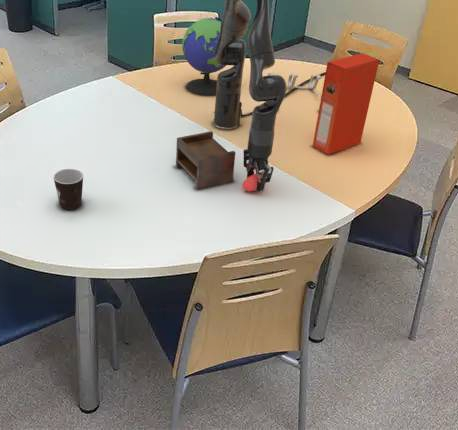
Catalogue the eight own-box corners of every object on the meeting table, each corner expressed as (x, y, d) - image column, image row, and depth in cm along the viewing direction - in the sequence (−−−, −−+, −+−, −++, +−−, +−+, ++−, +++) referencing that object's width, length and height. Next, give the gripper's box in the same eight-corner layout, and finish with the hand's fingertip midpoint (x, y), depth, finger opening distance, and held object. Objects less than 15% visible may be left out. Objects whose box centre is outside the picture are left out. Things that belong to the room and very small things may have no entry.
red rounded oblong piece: (269, 194, 188) (273, 174, 187) (249, 192, 182) (253, 171, 182) (258, 192, 192) (261, 172, 191) (238, 189, 186) (241, 170, 186)
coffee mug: (57, 197, 180) (54, 168, 175) (85, 196, 181) (84, 168, 175) (54, 218, 171) (51, 189, 165) (83, 218, 172) (81, 189, 166)
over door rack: (313, 86, 262) (317, 65, 256) (325, 114, 238) (330, 92, 232) (265, 84, 262) (268, 63, 256) (272, 112, 238) (276, 89, 232)
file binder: (311, 146, 214) (327, 61, 196) (343, 135, 223) (361, 52, 205) (328, 155, 209) (346, 69, 191) (360, 143, 218) (380, 59, 199)
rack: (209, 159, 203) (211, 131, 197) (232, 181, 192) (235, 152, 185) (175, 166, 198) (176, 137, 192) (197, 190, 187) (199, 159, 180)
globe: (182, 76, 266) (186, 9, 249) (231, 80, 264) (238, 12, 247) (177, 96, 248) (180, 24, 231) (230, 100, 246) (237, 28, 229)
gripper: (284, 147, 174) (277, 195, 184) (258, 127, 184) (252, 173, 194) (263, 152, 171) (256, 200, 181) (238, 131, 182) (233, 177, 191)
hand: (254, 186), depth 188 cm, fingers closed on red rounded oblong piece, 5 cm apart
